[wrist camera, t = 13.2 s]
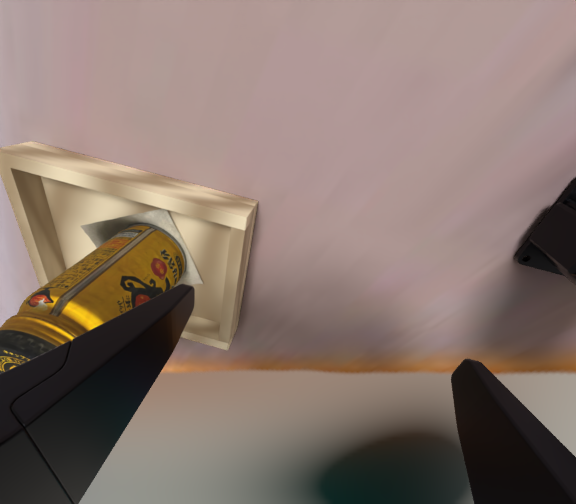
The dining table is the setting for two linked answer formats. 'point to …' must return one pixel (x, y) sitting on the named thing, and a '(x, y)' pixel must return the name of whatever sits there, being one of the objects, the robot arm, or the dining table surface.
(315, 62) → the dining table surface
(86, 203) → the tray
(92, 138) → the dining table surface
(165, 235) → the condiment
